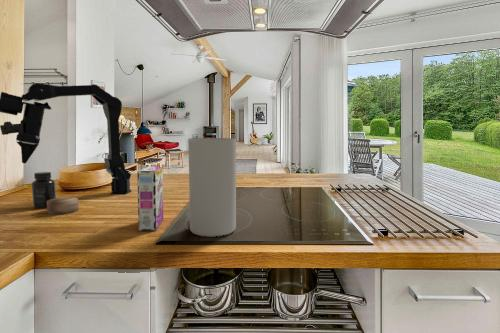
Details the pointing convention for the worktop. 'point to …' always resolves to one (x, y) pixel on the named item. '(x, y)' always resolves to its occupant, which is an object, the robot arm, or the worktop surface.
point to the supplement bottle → (43, 189)
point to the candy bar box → (150, 198)
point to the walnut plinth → (62, 205)
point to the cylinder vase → (212, 186)
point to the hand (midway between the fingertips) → (24, 162)
